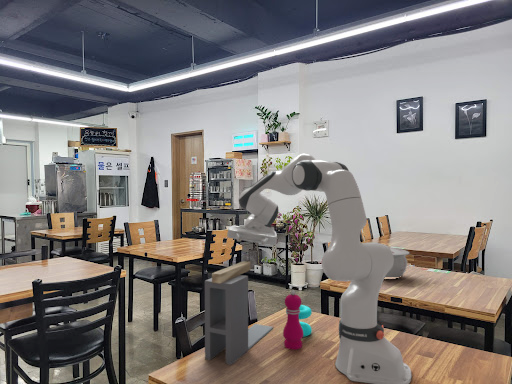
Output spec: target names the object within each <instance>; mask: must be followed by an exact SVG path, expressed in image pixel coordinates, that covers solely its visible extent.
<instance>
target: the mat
mask: <svg viewBox="0 0 512 384" xmlns="http://www.w3.org/2000/svg"><path fill="white" fill-rule="evenodd" d="M273 329H274V326H270V325H265V324H264V325H263V324H259V323H254V324H253V325H252V326H250V327H248V351H249V350H250V349H251V348H253V347H254V346H255V345H256V344H257V343H258V342H260V340H262V339H263V338H264V337H265V336H267V334H268V333H270V332H271V331H272V330H273Z"/></svg>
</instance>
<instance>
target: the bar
mask: <svg viewBox="0 0 512 384" xmlns="http://www.w3.org/2000/svg"><path fill="white" fill-rule="evenodd" d="M251 262H252V261H247V260H246V261H245V260H243V261H240V262H238V263H235V264H232V265H231V266H228V267H225V268H222V269H220V270H217V271H214V272H212V273H211V278H212V283H219V284H220V283H222V282H225V281H227V280H229V279H231V278H234V277H236V276H238V275H243V274H244V273H247V272H249V271H251V270H252V269H251V268H252V265H251V264H252V263H251Z"/></svg>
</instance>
